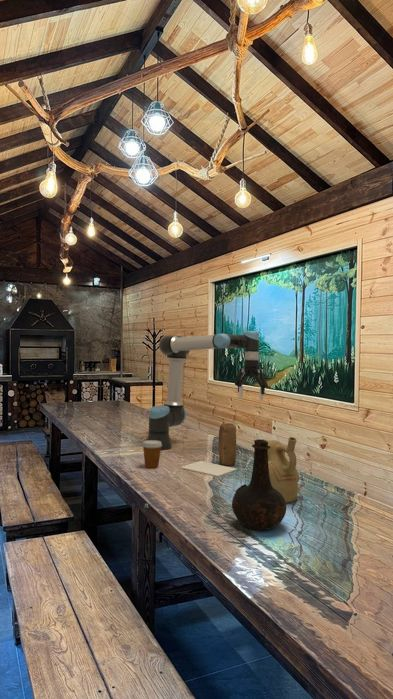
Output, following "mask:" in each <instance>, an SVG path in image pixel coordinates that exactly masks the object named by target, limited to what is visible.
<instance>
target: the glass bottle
mask: <svg viewBox="0 0 393 699" xmlns="http://www.w3.org/2000/svg"><path fill="white" fill-rule="evenodd" d="M253 442H254V444H252V445H251V447H252V448H253V449H254V450H253V452H254V453H253V463H252V471H251V472H252V473H251V478H250V481H249V484H248V485H247V484H246V483H244V484H242V485H241V486H240V487H238V488H237V489H236V490H235V493H234V495H233V496H232V500H231V508H232V512H233V514H234V516H235V517H236V519H237V520H238V521H239V523H241V525H242V526H244V527H246V528H248V529H251V530H253V531H254V530H255V531H266V530H268V531H269V530H271V529H273V528H275V527H276V526H278V525H279V524H281V522H282V521H283V520H284V518H285V516H286V514H287V503H286V502H285V499H284V497H283V496H282V494H281V493H280V492H279V491H277V490H276V489H274V488H273V487H272V485H271V481H270V476H269V467H268V449H270V448H271V447H270V446H268V442H269V441H267V440H266V439H255V440H253Z"/></svg>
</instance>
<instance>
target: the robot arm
mask: <svg viewBox="0 0 393 699" xmlns="http://www.w3.org/2000/svg"><path fill="white" fill-rule="evenodd" d="M158 343H159V344H158V348H159V350H160V352H161V353H162V354H164V355H166V358H167V360H168V361H169V363H168V377H167V390H166V391H167V392H166V401H165V402H164V403H163V404H162V405H161V404H160V405H155V406H152V407H150V408H149V412H148V435H147V438H146V441H147V440H157V441H161V444H162V447H161V451H164V449H166V450H170V449H172V448H173V447H172V446H173V445H172V442H171V437H170V436H171V435H170V428H171V427H175V426H176V427H177V426H179V425H181V424H183V423H184V422H185V420H186V418H187V410H185V408H184V403H183V402H182V391H183V390H182V389H183V378H184V377H183V376H184V363H185V361H186V360H187V357H188V356H187V355H188V354H189V353H191V352H190V351H200V350H201V351H202V350H214V349H215V350H216V349H244V368H243V367H241V368H239V372H238V375H237V377H236V380H235V382H234V385H235V386H237V393H238V399H239V400H242V399H243V398H244V397H243V396H244V394H243V393H244V392H243V391H244V386H243V384H244V383H245V382H246V381H247V379H248V378H254V380H256V382H257V383H258V385H259V387H260V388H259V391H258V392H259V396H258V398H259V400H258V401H259V402H261V401H264V395H265V391H266V390H265V389H266V388H268V387H269V385H268V381H267V379H266V376H265V372H264V371H265V370H264V369H263V368H261V369H260V368H259V364H260V363H259V358H260V354H259V352H260V349H259V348H260V333H259V332H258V331H255V330H246V331H245V332H244V334H233V333H231V334H230V333H217V334H206V335H193V336H181V335H165V336H163V337H162V338H161V339H160V340H159V342H158ZM171 447H172V448H171ZM169 448H170V449H169Z"/></svg>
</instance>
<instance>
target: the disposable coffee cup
mask: <svg viewBox="0 0 393 699" xmlns="http://www.w3.org/2000/svg"><path fill="white" fill-rule="evenodd" d="M161 447H162V444H161V441H157V440H147V439H146V440H143V442H142V448H143V449H142V450H143V457H144V467H145V468H146V469H151V468H152V469H158V468H159V464H160V458H161V451H162V450H161ZM157 467H158V468H157Z"/></svg>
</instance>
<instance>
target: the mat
mask: <svg viewBox="0 0 393 699" xmlns="http://www.w3.org/2000/svg"><path fill="white" fill-rule="evenodd" d="M179 468H180V469H181V468H183V469H182V470H185V469H187V470H186V471H189V470H192V471H191V472H194V471H196V472H195V473H198V472H199V474H203V475H208V476H213V477H216V478H220V477H223V476H225V475H228V474H230V473H232V472H233V473H234V472H235V471H238V468H236V467H232V466H224V465H221V464H216V463H212V462H208V461H203V460H202V461H201V460H200V461H196V462H192V463H190V464H186V465H182V466H180V467H179Z"/></svg>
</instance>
